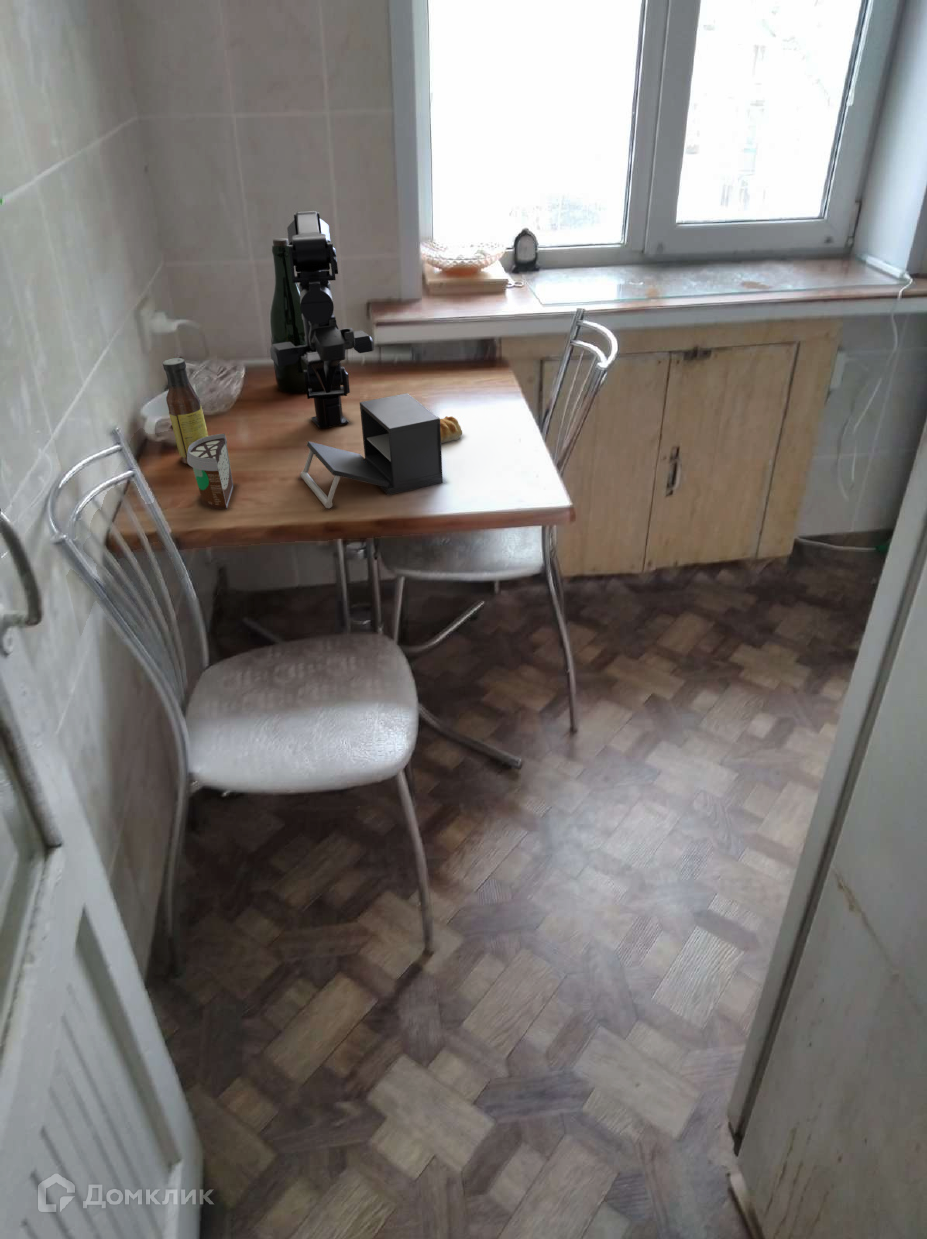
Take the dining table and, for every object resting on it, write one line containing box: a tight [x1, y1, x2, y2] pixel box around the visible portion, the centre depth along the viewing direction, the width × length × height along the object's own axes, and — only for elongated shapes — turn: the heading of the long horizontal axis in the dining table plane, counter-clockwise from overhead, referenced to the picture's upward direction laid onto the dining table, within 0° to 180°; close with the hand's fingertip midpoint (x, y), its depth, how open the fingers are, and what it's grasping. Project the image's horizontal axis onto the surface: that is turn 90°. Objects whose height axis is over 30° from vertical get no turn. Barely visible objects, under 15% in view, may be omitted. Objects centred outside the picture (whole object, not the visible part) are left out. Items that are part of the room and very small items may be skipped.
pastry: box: [440, 416, 463, 444], centre depth 185 cm, size 9×7×4 cm
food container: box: [187, 433, 234, 510], centre depth 162 cm, size 12×6×10 cm, turn 5°
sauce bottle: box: [162, 357, 209, 465], centre depth 174 cm, size 6×6×20 cm
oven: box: [359, 392, 444, 496], centre depth 168 cm, size 11×15×12 cm
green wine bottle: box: [268, 237, 312, 394], centre depth 205 cm, size 10×10×33 cm
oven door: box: [299, 441, 389, 509], centre depth 167 cm, size 7×15×11 cm
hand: (327, 392), depth 175 cm, fingers closed
